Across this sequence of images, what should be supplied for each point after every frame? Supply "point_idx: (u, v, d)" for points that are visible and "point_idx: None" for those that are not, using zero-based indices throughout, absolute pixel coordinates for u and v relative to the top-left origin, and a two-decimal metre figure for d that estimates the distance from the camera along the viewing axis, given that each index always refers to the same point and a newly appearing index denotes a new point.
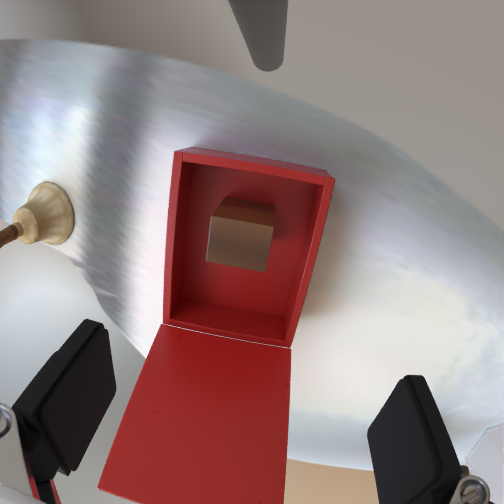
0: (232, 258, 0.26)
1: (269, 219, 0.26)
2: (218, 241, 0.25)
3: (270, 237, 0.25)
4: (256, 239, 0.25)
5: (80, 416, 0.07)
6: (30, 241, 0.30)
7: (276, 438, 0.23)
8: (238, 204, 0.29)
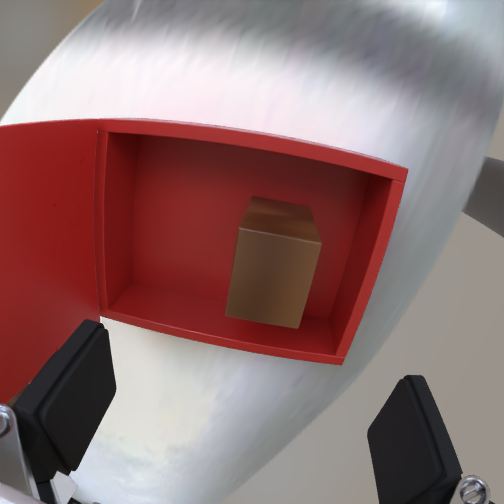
0: (246, 272, 0.16)
1: None
2: (276, 252, 0.15)
3: (282, 324, 0.17)
4: (280, 307, 0.16)
5: (80, 416, 0.07)
6: None
7: None
8: None
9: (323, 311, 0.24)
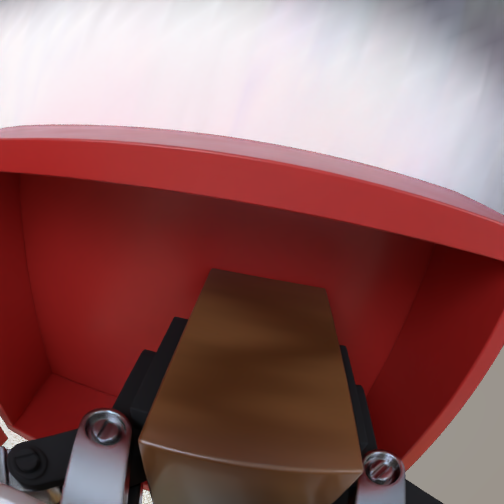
0: (180, 495, 0.05)
1: None
2: (243, 485, 0.05)
3: None
4: None
5: None
6: None
7: None
8: None
9: None
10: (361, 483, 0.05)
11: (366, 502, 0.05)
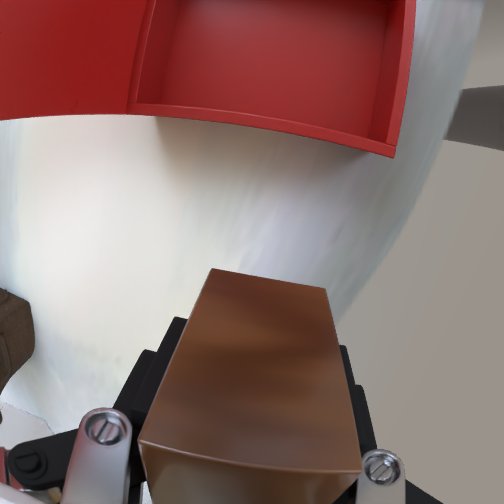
0: (179, 495, 0.05)
1: None
2: (242, 485, 0.05)
3: None
4: None
5: None
6: None
7: None
8: None
9: (361, 129, 0.22)
10: (361, 483, 0.05)
11: (366, 502, 0.05)
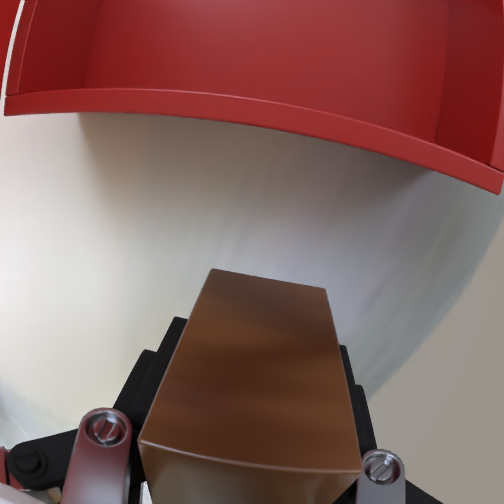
0: (179, 495, 0.05)
1: None
2: (243, 485, 0.05)
3: None
4: None
5: None
6: None
7: None
8: None
9: (424, 132, 0.11)
10: (361, 483, 0.05)
11: (366, 502, 0.05)
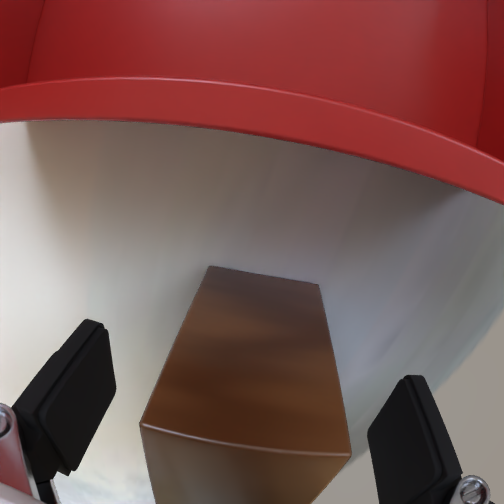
0: (178, 481, 0.06)
1: None
2: (238, 468, 0.05)
3: None
4: None
5: (80, 416, 0.07)
6: None
7: None
8: None
9: (463, 139, 0.08)
10: (454, 500, 0.04)
11: None
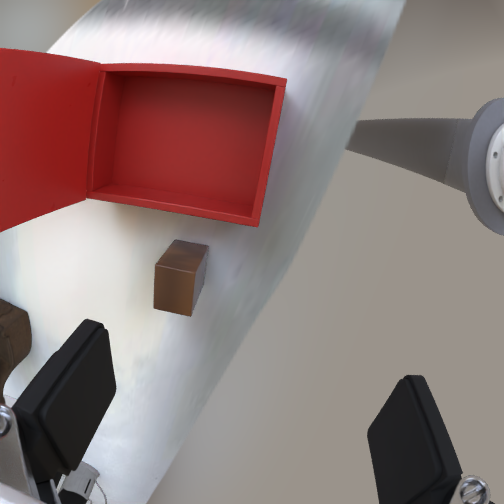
0: (161, 286, 0.30)
1: (195, 304, 0.32)
2: (173, 276, 0.29)
3: (182, 313, 0.31)
4: (179, 304, 0.30)
5: (80, 416, 0.07)
6: None
7: (4, 218, 0.18)
8: (203, 267, 0.34)
9: (249, 198, 0.32)
10: (454, 500, 0.04)
11: None
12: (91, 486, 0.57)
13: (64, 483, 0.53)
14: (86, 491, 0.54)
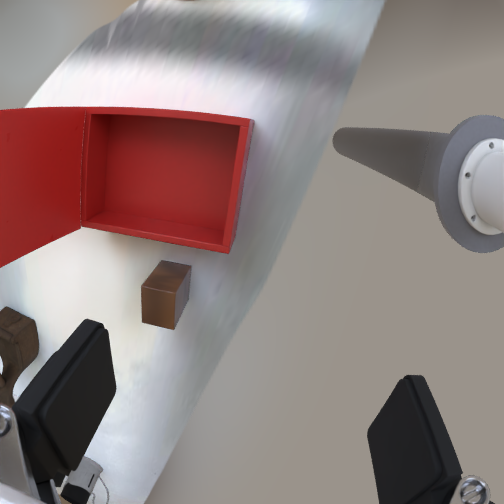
0: (147, 303, 0.34)
1: (178, 318, 0.36)
2: (157, 296, 0.33)
3: (166, 327, 0.35)
4: (163, 319, 0.34)
5: (80, 416, 0.07)
6: None
7: (11, 252, 0.22)
8: (186, 285, 0.38)
9: (224, 225, 0.36)
10: (454, 500, 0.04)
11: None
12: (94, 481, 0.62)
13: (69, 477, 0.58)
14: (89, 485, 0.59)
